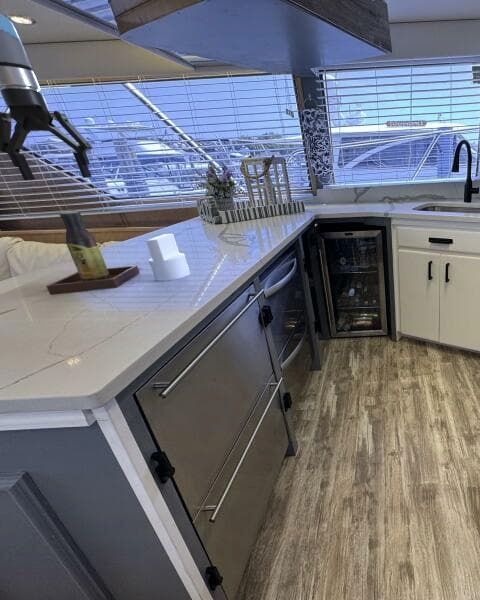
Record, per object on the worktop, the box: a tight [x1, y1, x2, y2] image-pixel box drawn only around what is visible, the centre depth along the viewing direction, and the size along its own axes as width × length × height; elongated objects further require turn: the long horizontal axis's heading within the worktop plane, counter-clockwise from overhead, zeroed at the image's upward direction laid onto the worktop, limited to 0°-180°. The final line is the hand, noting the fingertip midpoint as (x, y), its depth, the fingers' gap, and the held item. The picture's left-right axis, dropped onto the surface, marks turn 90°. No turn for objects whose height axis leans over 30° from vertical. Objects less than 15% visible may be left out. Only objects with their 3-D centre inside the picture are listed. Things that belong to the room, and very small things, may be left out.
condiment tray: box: [46, 265, 141, 296], centre depth 94 cm, size 16×14×2 cm
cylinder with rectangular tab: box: [145, 233, 191, 282], centre depth 95 cm, size 9×9×12 cm
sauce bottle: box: [59, 210, 110, 282], centre depth 90 cm, size 6×6×20 cm
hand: (59, 178), depth 90 cm, fingers open, 13 cm apart
